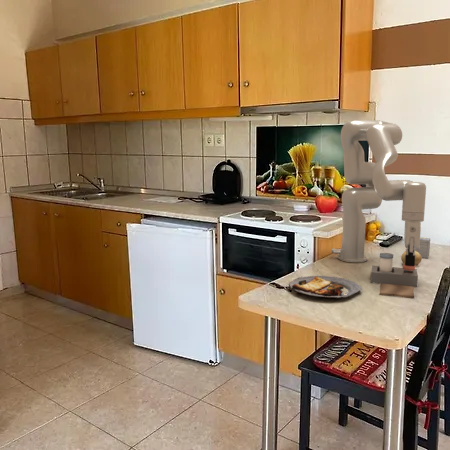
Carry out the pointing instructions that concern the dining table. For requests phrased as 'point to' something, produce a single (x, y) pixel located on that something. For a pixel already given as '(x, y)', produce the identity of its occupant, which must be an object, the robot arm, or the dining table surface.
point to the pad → (396, 290)
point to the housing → (394, 276)
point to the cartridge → (386, 262)
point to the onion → (417, 257)
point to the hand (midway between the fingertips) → (409, 265)
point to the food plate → (324, 286)
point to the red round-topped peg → (408, 267)
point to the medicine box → (424, 247)
